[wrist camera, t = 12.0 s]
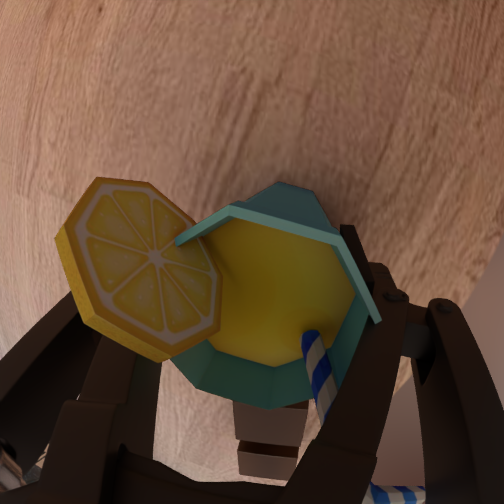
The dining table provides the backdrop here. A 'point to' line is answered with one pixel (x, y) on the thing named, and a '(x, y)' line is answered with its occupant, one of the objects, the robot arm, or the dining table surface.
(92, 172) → the dining table surface
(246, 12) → the dining table surface
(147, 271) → the cup
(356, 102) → the dining table surface
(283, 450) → the walnut block far
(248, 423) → the walnut block near
